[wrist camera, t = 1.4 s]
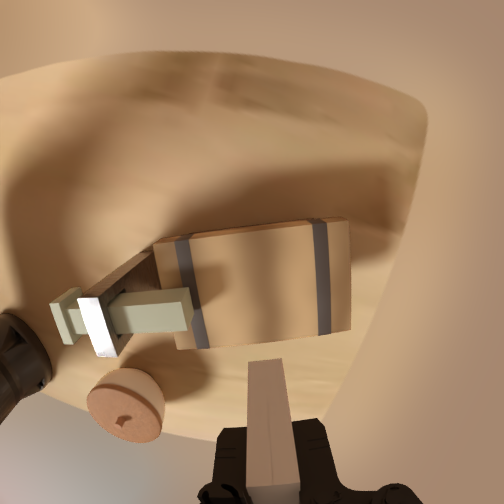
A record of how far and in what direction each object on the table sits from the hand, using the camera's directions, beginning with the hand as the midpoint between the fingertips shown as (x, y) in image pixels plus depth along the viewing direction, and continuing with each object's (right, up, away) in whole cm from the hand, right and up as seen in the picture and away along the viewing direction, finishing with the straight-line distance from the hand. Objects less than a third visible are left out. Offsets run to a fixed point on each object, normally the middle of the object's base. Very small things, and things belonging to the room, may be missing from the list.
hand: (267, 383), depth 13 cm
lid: (0, +3, +14) cm, 14 cm away
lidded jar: (-18, -14, +25) cm, 34 cm away
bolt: (-12, +1, +12) cm, 17 cm away
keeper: (-13, +4, +21) cm, 25 cm away
